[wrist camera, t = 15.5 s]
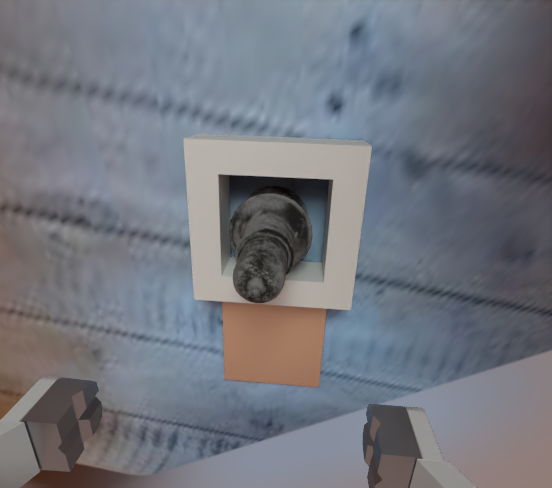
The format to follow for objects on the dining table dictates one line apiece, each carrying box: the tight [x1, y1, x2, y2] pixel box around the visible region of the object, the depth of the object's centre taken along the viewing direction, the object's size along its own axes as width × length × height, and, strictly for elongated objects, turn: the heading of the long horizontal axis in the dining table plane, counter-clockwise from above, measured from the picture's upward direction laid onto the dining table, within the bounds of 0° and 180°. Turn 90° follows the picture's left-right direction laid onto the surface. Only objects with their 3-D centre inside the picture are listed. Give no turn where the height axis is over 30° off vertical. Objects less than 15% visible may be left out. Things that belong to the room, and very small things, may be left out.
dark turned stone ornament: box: [229, 186, 312, 303], centre depth 23 cm, size 6×6×12 cm
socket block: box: [184, 134, 372, 310], centre depth 26 cm, size 12×12×4 cm
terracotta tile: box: [222, 301, 327, 387], centre depth 32 cm, size 9×9×1 cm
